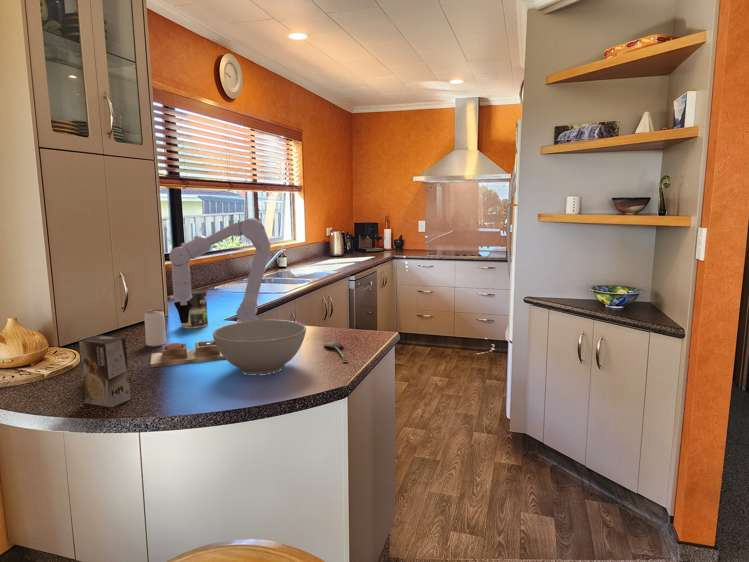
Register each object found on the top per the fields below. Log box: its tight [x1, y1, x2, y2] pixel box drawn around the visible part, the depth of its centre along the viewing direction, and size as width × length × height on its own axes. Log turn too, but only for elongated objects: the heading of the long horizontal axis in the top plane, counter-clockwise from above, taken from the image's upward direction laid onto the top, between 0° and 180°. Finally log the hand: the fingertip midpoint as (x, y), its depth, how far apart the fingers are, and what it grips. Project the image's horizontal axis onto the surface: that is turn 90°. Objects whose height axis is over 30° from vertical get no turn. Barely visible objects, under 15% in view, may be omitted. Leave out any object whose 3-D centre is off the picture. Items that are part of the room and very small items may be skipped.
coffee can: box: [181, 289, 209, 329], centre depth 210 cm, size 10×10×14 cm
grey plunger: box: [200, 340, 214, 346], centre depth 168 cm, size 4×4×3 cm
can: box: [143, 309, 167, 347], centre depth 182 cm, size 6×6×12 cm
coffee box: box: [78, 334, 131, 408], centre depth 129 cm, size 9×6×16 cm
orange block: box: [166, 342, 182, 350], centre depth 165 cm, size 4×4×3 cm
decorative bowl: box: [212, 319, 307, 376], centre depth 153 cm, size 27×27×12 cm
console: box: [149, 339, 226, 368], centre depth 167 cm, size 24×12×4 cm, turn 111°
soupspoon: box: [323, 341, 349, 362], centre depth 170 cm, size 22×3×7 cm
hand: (184, 322), depth 175 cm, fingers closed
